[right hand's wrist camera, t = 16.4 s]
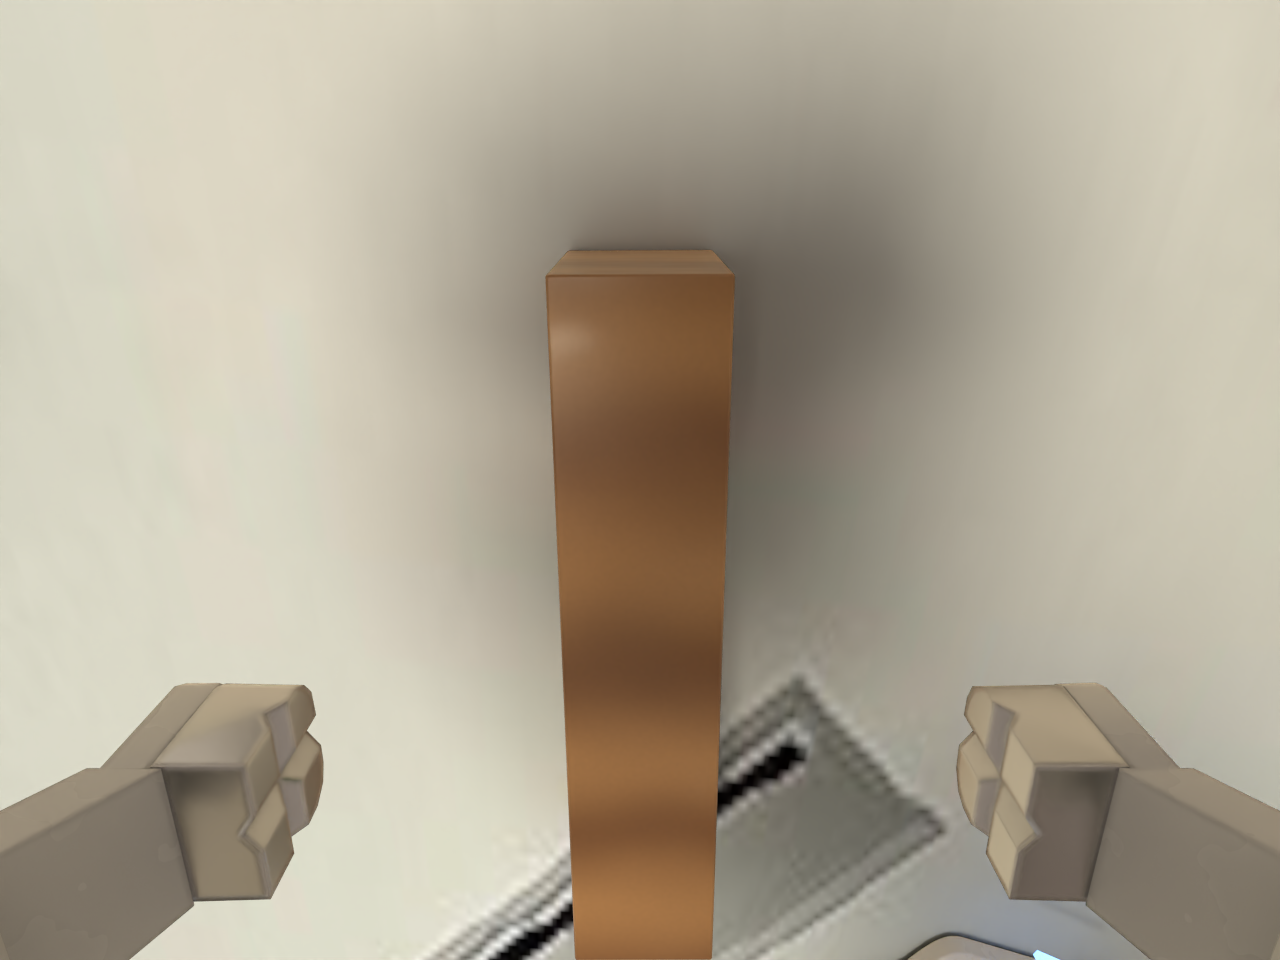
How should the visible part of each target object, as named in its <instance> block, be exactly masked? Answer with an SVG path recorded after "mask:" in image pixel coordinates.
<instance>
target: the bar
mask: <svg viewBox="0 0 1280 960" xmlns="http://www.w3.org/2000/svg"><path fill="white" fill-rule="evenodd" d="M545 278H546V301H547V324H548V347H549V370H550V393H551V416H552V439H553V462H554V485H555V508H556V531H557V554H558V576H559V599H560V622H561V645H562V668H563V691H564V714H565V737H566V760H567V783H568V806H569V829H570V852H571V875H572V897H573V920H574V943H575V958H576V960H710V959H711V958H712V942H713V912H714V883H715V853H716V824H717V794H718V764H719V735H720V705H721V676H722V646H723V617H724V587H725V557H726V528H727V498H728V469H729V439H730V410H731V380H732V350H733V321H734V291H735V275H734V274H733V273H732V271H731V270H730V269H729V268H728V267H727V266H726V265H725V264H724V263H723V262H722V260H721V259H720V258H719V257H718V256H717V255H716V254H715V253H714V252H713V251H712V250H600V251H568V252H567V253H566V254H565V255H564V256H563V257H562V258H561V259H560V261H559V262H558V263H557V264H556V265H555V266H554V267H553V268H552V269H551V271H550V272H549V273H548V274H547V275H546V277H545Z"/></svg>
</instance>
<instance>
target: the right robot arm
mask: <svg viewBox="0 0 1280 960" xmlns="http://www.w3.org/2000/svg"><path fill="white" fill-rule="evenodd" d="M315 716H316V712H315V707H314V703H313V698H312V693H311V691H310V690H309V689H308V688H307V687H306V686H304V685H276V684H228V683H226V684H220V683H185V684H182V685H178V686H175V687H174V688H173V689H172V690H171V691H170V692H169V693H168V694H167V695H166V696H165V698H164V699H163V700H162V701H161V702H160V703H159V704H158V705H157V706H156V707H155V709H154V710H153V711H152V712H151V713H150V714H149V715H148V716H147V717H146V718H145V719H144V721H143V722H142V723H141V724H140V725H139V726H138V727H137V728H136V729H135V730H134V732H133V733H132V734H131V735H130V736H129V737H128V738H127V739H126V740H125V741H124V743H123V744H122V745H121V746H120V747H119V748H118V749H117V750H116V751H115V752H114V754H113V755H112V756H111V757H110V758H109V759H108V760H107V761H106V762H105V763H104V764H103V766H102V767H101V768H86V769H84V770H82V771H80V772H78V773H76V774H74V775H72V776H70V777H68V778H66V779H64V780H62V781H60V782H58V783H56V784H54V785H52V786H50V787H48V788H46V789H44V790H42V791H40V792H38V793H36V794H34V795H32V796H30V797H28V798H26V799H23V800H21V801H19V802H17V803H15V804H13V805H11V806H9V807H7V808H5V809H3V810H1V811H0V960H129V959H131V958H132V957H133V956H134V955H135V954H137V953H138V952H139V951H140V950H141V949H143V948H144V947H145V946H146V945H147V944H149V943H150V942H151V941H152V940H153V939H155V938H156V937H157V936H158V935H159V934H161V933H162V932H163V931H164V930H165V929H167V928H168V927H169V926H170V925H171V924H173V923H174V922H175V921H176V920H177V919H179V918H180V917H181V916H182V915H183V914H185V913H186V912H187V911H188V910H189V909H191V908H192V907H193V906H194V902H193V901H226V900H260V899H271V897H272V895H273V893H274V892H275V890H276V888H277V886H278V884H279V882H280V880H281V878H282V876H283V874H284V872H285V870H286V868H287V866H288V864H289V862H290V860H291V858H292V856H293V855H294V850H293V844H292V838H291V836H293V835H294V834H296V833H297V832H299V831H300V830H301V829H303V828H304V827H306V826H307V825H309V823H310V821H311V819H312V817H313V814H314V812H315V810H316V808H317V806H318V802H319V798H320V793H321V789H322V784H323V756H322V749H321V745H320V744H319V743H318V742H317V741H316V740H315V739H314V738H313V737H312V736H311V735H310V734H309V733H308V732H307V729H308V728H309V726H310V724H311V722H312V721H313V719H314V717H315ZM964 716H965V717H966V719H967V721H968V722H969V724H970V726H971V728H972V729H973V732H972V733H971V734H970V735H969V736H968V737H967V738H966V739H965V740H964V741H963V742H962V743H961V744H960V745H959V750H958V758H957V766H956V771H957V782H958V792H959V795H960V798H961V802H962V805H963V808H964V810H965V812H966V815H967V817H968V819H969V821H970V823H971V825H973V826H974V827H976V828H977V829H979V830H980V831H981V832H983V833H984V834H986V835H987V836H989V838H988V844H987V850H986V855H987V856H988V858H989V860H990V862H991V864H992V866H993V868H994V870H995V872H996V874H997V876H998V878H999V880H1000V882H1001V884H1002V886H1003V887H1004V889H1005V891H1006V893H1007V895H1008V897H1009V899H1017V900H1053V901H1086V906H1087V907H1089V908H1090V909H1091V910H1092V911H1093V912H1095V913H1096V914H1097V915H1098V916H1099V917H1101V918H1102V919H1103V920H1104V921H1105V922H1107V923H1108V924H1109V925H1110V926H1111V927H1113V928H1114V929H1115V930H1116V931H1117V932H1119V933H1120V934H1121V935H1122V936H1123V937H1125V938H1126V939H1127V940H1128V941H1129V942H1131V943H1132V944H1133V945H1134V946H1135V947H1136V948H1138V949H1139V950H1140V951H1141V952H1142V953H1144V954H1145V955H1146V956H1147V957H1148V958H1150V959H1151V960H1280V811H1279V810H1277V809H1275V808H1273V807H1270V806H1268V805H1266V804H1264V803H1262V802H1260V801H1258V800H1256V799H1254V798H1252V797H1250V796H1248V795H1246V794H1244V793H1242V792H1240V791H1238V790H1236V789H1234V788H1232V787H1230V786H1228V785H1226V784H1224V783H1222V782H1220V781H1218V780H1216V779H1214V778H1212V777H1210V776H1208V775H1206V774H1204V773H1202V772H1200V771H1198V770H1196V769H1194V768H1179V767H1178V766H1177V765H1176V763H1175V762H1174V761H1173V760H1172V759H1171V758H1170V757H1169V756H1168V755H1167V754H1166V752H1165V751H1164V750H1163V749H1162V748H1161V747H1160V746H1159V745H1158V744H1157V743H1156V741H1155V740H1154V739H1153V738H1152V737H1151V736H1150V735H1149V734H1148V733H1147V732H1146V730H1145V729H1144V728H1143V727H1142V726H1141V725H1140V724H1139V723H1138V722H1137V721H1136V719H1135V718H1134V717H1133V716H1132V715H1131V714H1130V713H1129V712H1128V711H1127V710H1126V708H1125V707H1124V706H1123V705H1122V704H1121V703H1120V702H1119V701H1118V700H1117V699H1116V697H1115V696H1114V695H1113V694H1112V693H1111V692H1110V691H1109V690H1108V689H1107V688H1106V687H1104V686H1102V685H1100V684H1098V683H1072V684H1055V685H1016V686H972V688H971V690H970V692H969V694H968V697H967V701H966V706H965V712H964ZM1033 955H1034V957H1035V958H1032V957H1029V956H1025V955H1022V954H1018V953H1015V952H1012V951H1008V950H1005V949H1002V948H998V947H995V946H991V945H988V944H985V943H981V942H978V941H974V940H971V939H968V938H964V937H960V936H947V937H943V938H940V939H938V940H936V941H934V942H932V943H930V944H929V945H927V946H926V947H924V948H922V949H921V950H920V951H918V952H917V953H915V954H914V955H913V956H911V957H910V958H909V959H907V960H1059V959H1057V958H1054V957H1052V956H1050V955H1047V954H1045V953H1043V952H1040V951H1038V950H1037V951H1036V952H1035V953H1034V954H1033Z"/></svg>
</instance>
